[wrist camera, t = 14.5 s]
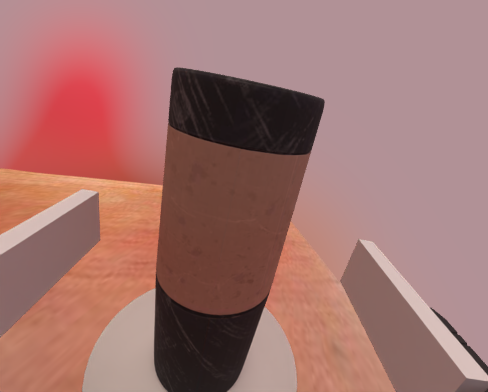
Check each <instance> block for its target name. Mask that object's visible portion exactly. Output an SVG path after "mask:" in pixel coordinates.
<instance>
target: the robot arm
mask: <svg viewBox="0 0 488 392" xmlns="http://www.w3.org/2000/svg"><path fill="white" fill-rule="evenodd" d="M99 241H100V221H99V193H98V192H95V191H90V190H84V189H81V190H80V191H78V192H76V193H74V194H73V195H71V196H69V197H67V198H65V199H64V200H62V201H60V202H58V203H57V204H55V205H53V206H51V207H49V208H48V209H46V210H44V211H42V212H40V213H39V214H37V215H35V216H33V217H32V218H30V219H28V220H26V221H24V222H23V223H21V224H19V225H17V226H16V227H14V228H12V229H10V230H8V231H7V232H5V233H3V234H1V235H0V337H1V336H2V335H4V334H5V333H6V332H7V331H8V330H9V329H10V328H11V327H12V326H13V325H14V324H15V323H16V322H17V321H18V320H19V319H20V318H21V317H22V316H23V315H24V314H25V313H26V312H27V311H28V310H29V309H30V308H31V307H32V306H33V305H34V304H35V303H36V302H37V301H38V300H39V299H40V298H41V297H42V296H43V295H44V294H46V293H47V292H48V291H49V290H50V289H51V288H52V287H53V286H54V285H55V284H56V283H57V282H58V281H59V280H60V279H61V278H62V277H63V276H64V275H65V274H66V273H67V272H68V271H69V270H70V269H71V268H72V267H73V266H74V265H75V264H76V263H77V262H78V261H79V260H80V259H81V258H82V257H83V256H84V255H85V254H86V253H88V252H89V251H90V250H91V249H92V248H93V247H94V246H95V245H96V244H97V243H98V242H99ZM341 283H342V285H343V287H344V289H345V291H346V293H347V295H348V297H349V299H350V301H351V303H352V305H353V307H354V309H355V311H356V313H357V315H358V317H359V319H360V321H361V323H362V325H363V327H364V329H365V331H366V333H367V335H368V337H369V339H370V341H371V343H372V345H373V347H374V349H375V351H376V353H377V355H378V357H379V359H380V361H381V363H382V365H383V367H384V369H385V371H386V373H387V375H388V377H389V379H390V381H391V383H392V385H393V387H394V389H395V391H396V392H488V367H487V365H486V364H485V363H484V362H483V361H482V360H481V359H480V357H479V356H478V355H477V354H476V353H475V352H474V351H473V350H472V349H471V347H470V346H467V343H466V342H465V341H464V339H463V338H462V337H461V336H460V335H458V334H457V332H456V330H455V329H454V328H453V327H452V326H451V325H450V324H449V323H448V321H447V320H446V319H445V318H443V317H442V316H441V315H440V314H438V313H437V312H436V311H435V310H433V309H432V308H429V307H428V305H427V304H426V303H425V302H424V301H423V300H422V298H421V297H420V296H419V295H418V294H417V293H416V292H415V290H414V289H413V288H412V287H411V286H410V284H409V283H408V282H407V281H406V280H405V279H404V277H403V276H402V275H401V274H400V273H399V272H398V271H397V269H396V268H395V267H394V266H393V265H392V264H391V262H390V261H389V260H388V259H387V258H386V257H385V255H384V254H383V253H382V252H381V251H380V250H379V248H378V247H377V246H376V245H375V244H374V243H373V242H371V241H365V240H360V239H359V240H358V242H357V244H356V246H355V249H354V251H353V253H352V256H351V258H350V260H349V262H348V265H347V267H346V269H345V272H344V274H343V276H342V278H341Z"/></svg>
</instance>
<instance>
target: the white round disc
mask: <svg viewBox="0 0 488 392" xmlns="http://www.w3.org/2000/svg"><path fill="white" fill-rule="evenodd" d="M155 290H156V288H155V289H152V290H150V291H148V292H146V293H144V294H143V295H141V296H139V297H138V298H136V299H135V300H133V301H132V302H130V303H129V304H128V305H127V306H125V307H124V308H123V309H122V310H121V311H120V312H119V313H118V314H117V315H116V316H115V317H114V318H113V319H112V320H111V321H110V323H109V324H108V325H107V327H106V328H105V329H104V330H103V332H102V334H101V335H100V337H99V339H98V340H97V342H96V344H95V346H94V348H93V350H92V353H91V355H90V357H89V360H88V364H87V367H86V370H85V375H84V381H83V387H82V392H168V391H167V390H166V389H165V388H164V387H163V385H162V384H161V383H160V381H159V379H158V377H157V374H156V371H155V366H154V325H155ZM227 392H297V375H296V366H295V361H294V356H293V353H292V350H291V347H290V344H289V342H288V339H287V337H286V335H285V333H284V331H283V330H282V328H281V326H280V324H279V323H278V322H277V320H276V319H275V318H274V316H273V315H272V314H271V313H270V312H269V311H268V310H267V308H265V307H264V309H263V312H262V315H261V318H260V321H259V324H258V326H257V329H256V332H255V335H254V338H253V341H252V343H251V346H250V349H249V352H248V355H247V358H246V360H245V363H244V366H243V369H242V371H241V373H240V375H239V377H238V379H237V381H236V382H235V384H234V385H233V386H232V387H231V388H230V389H229V390H228V391H227Z"/></svg>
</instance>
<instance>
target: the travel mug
mask: <svg viewBox="0 0 488 392" xmlns="http://www.w3.org/2000/svg"><path fill="white" fill-rule="evenodd" d="M323 108H324V100H323V99H321V98H319V97H315V96H312V95H308V94H305V93H301V92H297V91H292V90H289V89H285V88H281V87H276V86H272V85H268V84H263V83H258V82H254V81H249V80H245V79H240V78H235V77H230V76H225V75H220V74H215V73H210V72H204V71H199V70H192V69H186V68H174V70H173V74H172V84H171V96H170V107H169V119H168V120H169V123H168V132H167V144H166V156H165V168H164V180H163V192H162V204H161V216H160V228H159V240H158V252H157V264H156V290H155V325H154V366H155V371H156V374H157V377H158V379H159V381H160V383H161V384H162V385H163V387H164V388H165V389H166V390H167V391H168V392H227V391H228V390H229V389H230V388H231V387H232V386H233V385H234V384H235V382H236V381H237V379H238V377H239V375H240V373H241V371H242V369H243V366H244V363H245V360H246V358H247V355H248V352H249V349H250V346H251V343H252V341H253V338H254V335H255V332H256V329H257V326H258V324H259V321H260V318H261V315H262V312H263V309H264V306H265V304H266V301H267V298H268V295H269V292H270V289H271V286H272V283H273V279H274V276H275V272H276V269H277V266H278V262H279V259H280V255H281V252H282V249H283V245H284V242H285V238H286V235H287V232H288V228H289V225H290V221H291V218H292V215H293V211H294V208H295V204H296V201H297V197H298V194H299V191H300V187H301V184H302V180H303V177H304V173H305V170H306V167H307V163H308V160H309V156H310V153H311V150H312V146H313V143H314V140H315V136H316V133H317V129H318V126H319V122H320V119H321V116H322V113H323Z"/></svg>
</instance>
